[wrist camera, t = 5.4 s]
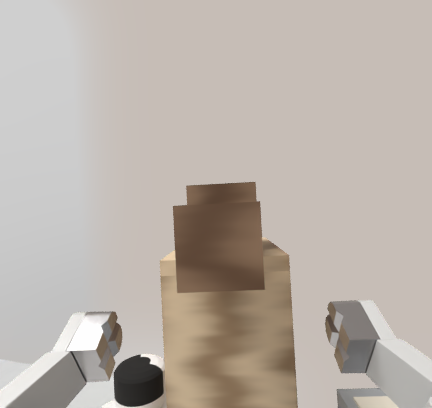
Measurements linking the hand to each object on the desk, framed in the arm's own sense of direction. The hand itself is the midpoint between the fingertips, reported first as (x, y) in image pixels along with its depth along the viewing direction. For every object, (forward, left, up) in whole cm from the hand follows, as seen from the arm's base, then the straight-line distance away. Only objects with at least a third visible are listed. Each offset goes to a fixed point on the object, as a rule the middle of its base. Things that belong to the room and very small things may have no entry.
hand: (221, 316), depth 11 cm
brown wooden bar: (0, -11, 0) cm, 11 cm away
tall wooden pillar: (0, -18, -26) cm, 31 cm away
